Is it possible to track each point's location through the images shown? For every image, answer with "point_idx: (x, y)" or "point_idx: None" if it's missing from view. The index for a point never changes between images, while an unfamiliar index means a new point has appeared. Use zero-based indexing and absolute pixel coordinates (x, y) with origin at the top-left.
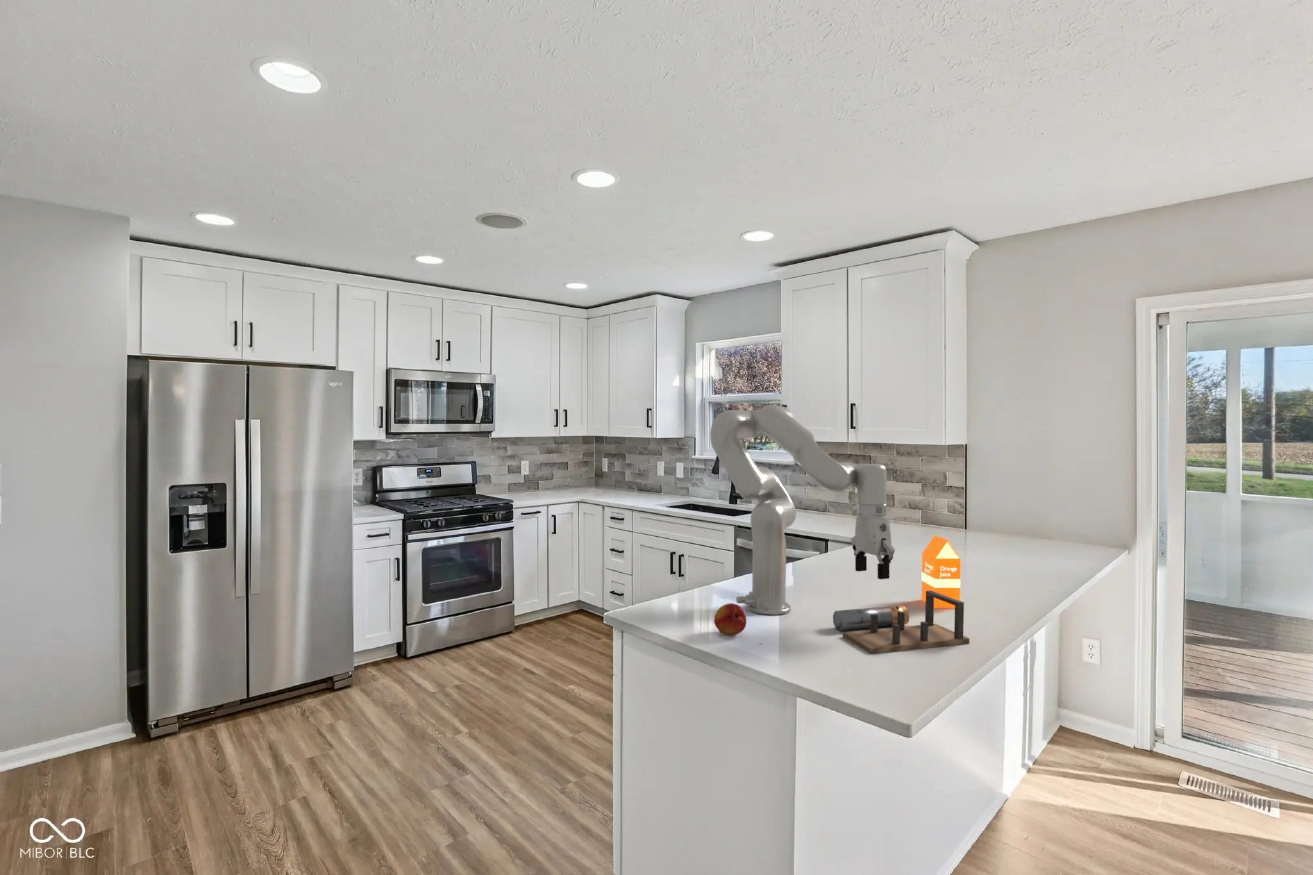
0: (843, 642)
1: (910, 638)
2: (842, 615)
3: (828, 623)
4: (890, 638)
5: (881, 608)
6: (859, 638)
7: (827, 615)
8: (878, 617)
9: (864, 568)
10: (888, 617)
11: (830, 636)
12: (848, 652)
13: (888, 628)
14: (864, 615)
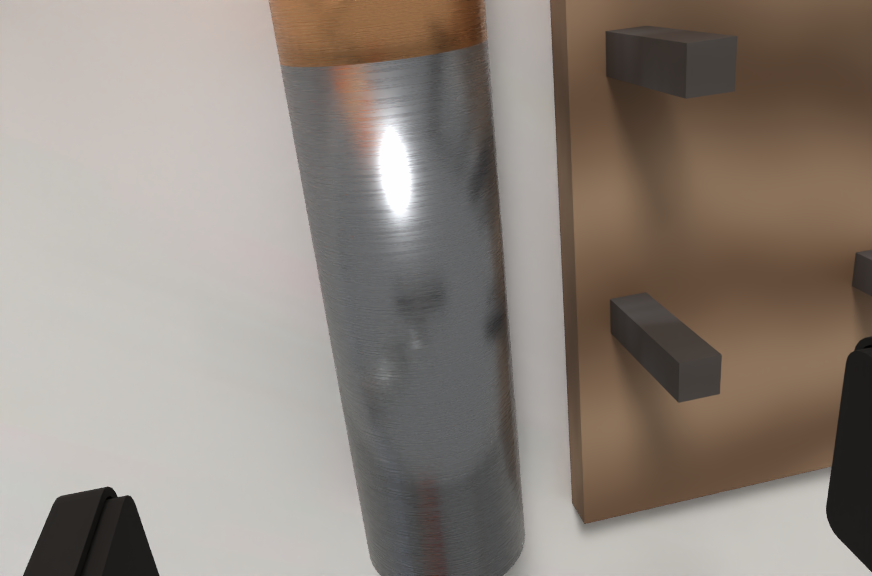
0: (657, 523)
1: (832, 101)
2: (512, 559)
3: (266, 507)
4: (783, 258)
5: (438, 160)
6: (716, 460)
7: (30, 457)
8: (500, 218)
9: (132, 565)
10: (491, 99)
11: (541, 564)
12: (798, 542)
13: (582, 154)
14: (505, 367)
